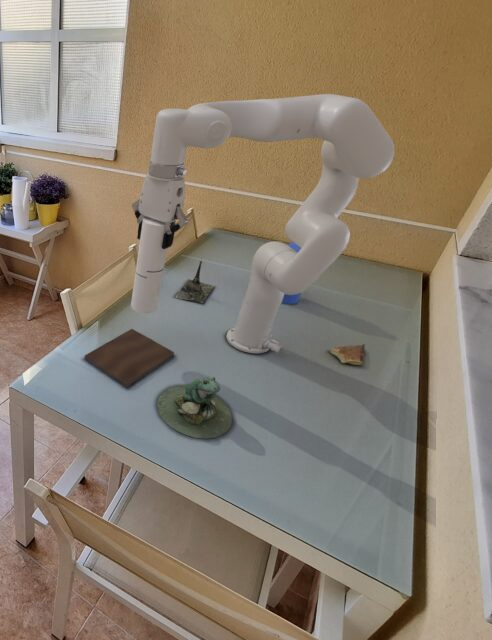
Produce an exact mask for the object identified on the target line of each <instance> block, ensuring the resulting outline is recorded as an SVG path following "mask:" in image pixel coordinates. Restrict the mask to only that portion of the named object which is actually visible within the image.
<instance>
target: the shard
mask: <svg viewBox="0 0 492 640" xmlns="http://www.w3.org/2000/svg"><path fill="white" fill-rule="evenodd" d="M365 347H366V345H365V344H357V345H344V346H343V345H342V346H337V347H336V346H335V347H332V348H331V349H330V353H331V355H333V356H335V357H337V358H338V359H339V361H340V362H341V363H342V364H350V365H355V366H361V365H363V363H364V355H365Z"/></svg>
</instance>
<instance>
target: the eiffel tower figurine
mask: <svg viewBox="0 0 492 640" xmlns="http://www.w3.org/2000/svg"><path fill="white" fill-rule="evenodd" d="M202 263H203V260H202V258H201V259H200V260H199V264H198V267H197V270H196V273H195V276H194V277H193V279H187V280H186V282H185V283H184V285H183V286H182V287H181V288H180V290H179V291H178V293H176V295H174V296H175V297H174V298H177V299H180V300H185V301H190V302H196V303H199V304H200V303H201V304H204V303H205V301H206V300H207V298H208V296H209V295H210V294H211V292H212V291H213V289H214V287H215V285H211V284H208V283H204V282H201V280H200V275H201V269H202V268H201V267H202Z"/></svg>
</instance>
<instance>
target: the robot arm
mask: <svg viewBox="0 0 492 640" xmlns="http://www.w3.org/2000/svg"><path fill="white" fill-rule="evenodd" d="M366 103H367V102H364V101H363V100H362V99H360V98H357V97H352V96H345V95H341V94H335V93H320V94H312V95H310V94H309V95H300V96H291V97H280V98H278V97H277V98H260V99H259V98H257V99H246V100H244V99H243V100H242V99H241V100H223V101H222V100H221V101H211V102H201V103H196V104H194V105H192V106H190V107H188V108H187V109H184V108H176V107H175V108H163V109H161V110H159V112H158V113H157V114H156V116H155V117H156V118H155V123H154V124H155V125H154V131H153V132H154V133H153V137H152V138H153V139H152V146H151V153H150V161H149V167H148V172H147V173H146V175H145V177H144V180H143V184H142V188H141V191H140V196H139V199H137V200H136V201H134V202H133V203H132V204H131V207H132V209H133V212H134V216H135V218H136V223H137V224H138V228H137V236H136V238H137V240H140V237H141V230H142V222H143V218H145V217H146V216H147V217H149V218H152V219H155V220H158V221H161V222H164V224H165V228H166V232H167V233H165V234H164V237H163V243H162V249H166V248H170V247H172V246H173V243H174V238H175V235H176V234H175V233H177V232H178V231H179V230H180V229H182V228H183V227H184V226H186V225H187V224H188V223H189V219H188V217H187V215H186V214H185V213H184V205H185V195H186V182H185V181H186V180H185V177H184V176H186V175H187V173H188V169H186V168H185V162H186V161H185V160H186V154H187V150H188V147H191V148H198V149H207V150H208V149H215V148H218V147H220V146H222V145H223V144H225V142H226V141H227V140H228V139H229V138H240V139H245V140H249V141H253V142H261V143H273V142H283V141H294V140H306V139H319V140H323V142H322V145H321V149H320V158H321V164H322V166H321V167H322V169H321V174H320V179H319V180H318V183H317V185H316V186H315V187H314V188H313V190H312V191H311V193H310V194H309V196H307V197H306V199H305V200H304V201H303V203H301V205H300V206H299V207H298V209H297V210H296V211H295V212H294V214H293V215H292V216H291V217H290V219H289V220H288V221H287V223H286V224H285V228H284V234H285V236H286V237H287V238H288V240H290V241H291V243H295V244H296V245H298V246H299V247H301V249H300V251H299V252H296V251H295V250H294V249H292V248H291V247H289V246H288V244H287V243H284V242H281V241H269V242H266V243H264V244H262V245H261V246H260V247H259V248H258V249H257V250H256V252H255V253H254V255H253V258H252V262H251V271H250V278H249V282H248V286H247V288H246V291H245V294H244V298H243V301H242V304H241V308H240V310H239V313H238V316H237V319H236V323H235V326H234V327H232V328H230V329H229V330H228V331H227V333H226V340H227V342H228V343H229V345H231V346H232V347H234V348H235V349H237V350H239V351H241V352H245V353H248V354H263V353H266V352H268V351H269V350H271V351H273V352H275V353H279V352H280V350H281V345H280V344H281V341H278V340H276V339H274V338H273V332H271V331H272V328H273V326H274V323H275V320H276V318H277V315H278V312H279V310H280V307H281V304H283V303H282V300H283V297H284V294H286V295H296V294H299V293H301V292H302V293H303V292H305V291H307V290H308V289H309V288H310V287H311V286H312V285H313V284H315V282H317V280H318V279H319V278H320V277H321V276H322V275H323V274H324V273H325V272H326V271H327V269H328V268H329V267H331V265H332V264H333V263H334V262H335V261H336V260H337V259H338V258H339V257H340V256H341V254H342V253H343V252H344V251H345V249H346V248H347V246H348V244H349V241H350V238H351V232H350V228H349V227H348V224H346V223H345V222H343V221H342V220H341V219H339V216H340V215H341V214H342V213H343V211H344V210H345V209H346V207H348V205H349V204H350V203H351V202H352V200H353V199H354V197H355V195H356V192H357V190H358V186H359V182H360V181H359V180H360V179H371V178H374V177H377V176H379V175H380V174H382V173H384V172H385V171H386V170H387V169H389V167H390V166H391V164H392V162H393V160H394V158H395V153H396V148H395V144H394V141H393V139H392V138H391V136H390V134H389V133H388V131H387V130H386V129H385V127H384V126H383V125H382V123H381V121H380V120H379V118H378V117H377V116H376V114H375V113H374V111H373V110H372V108H370V106H368V105H367V104H366ZM182 176H183V177H182ZM177 220H178V222H177ZM170 223H171V225H170ZM302 293H301V294H302Z"/></svg>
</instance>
